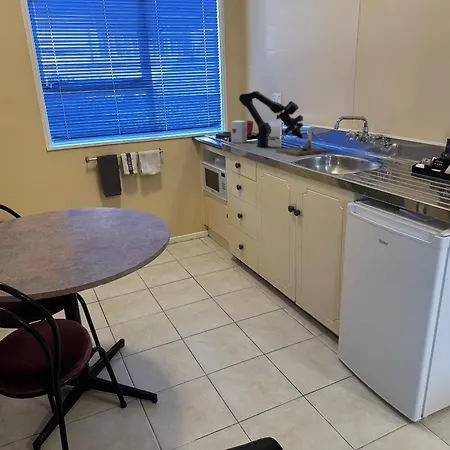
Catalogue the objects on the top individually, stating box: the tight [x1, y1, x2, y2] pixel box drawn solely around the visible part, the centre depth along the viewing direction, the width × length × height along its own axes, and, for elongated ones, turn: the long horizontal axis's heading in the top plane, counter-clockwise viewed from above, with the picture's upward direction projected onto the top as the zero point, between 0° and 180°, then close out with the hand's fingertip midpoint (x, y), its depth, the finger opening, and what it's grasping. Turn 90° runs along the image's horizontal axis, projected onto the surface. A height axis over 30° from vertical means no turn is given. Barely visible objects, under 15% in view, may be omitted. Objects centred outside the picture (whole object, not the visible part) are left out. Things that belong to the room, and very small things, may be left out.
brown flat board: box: [276, 146, 325, 157], centre depth 267 cm, size 24×18×2 cm
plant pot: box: [244, 119, 254, 138], centre depth 336 cm, size 13×13×12 cm
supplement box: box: [230, 120, 248, 144], centre depth 309 cm, size 9×9×15 cm
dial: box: [297, 129, 313, 152], centre depth 264 cm, size 19×4×11 cm, turn 148°
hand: (302, 138), depth 272 cm, fingers closed
